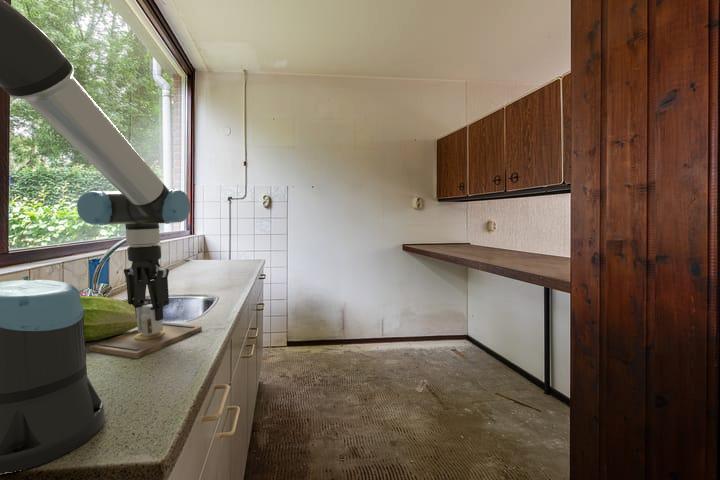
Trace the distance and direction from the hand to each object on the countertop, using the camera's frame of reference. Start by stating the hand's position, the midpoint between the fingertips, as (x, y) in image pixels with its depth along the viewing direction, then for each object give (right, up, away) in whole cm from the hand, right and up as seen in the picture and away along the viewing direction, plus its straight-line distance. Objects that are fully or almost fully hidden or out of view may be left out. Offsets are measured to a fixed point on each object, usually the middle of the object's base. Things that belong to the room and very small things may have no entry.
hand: (150, 330), depth 92 cm
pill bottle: (0, -1, 0) cm, 1 cm away
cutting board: (0, -2, 0) cm, 2 cm away
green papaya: (-15, -3, +3) cm, 15 cm away
